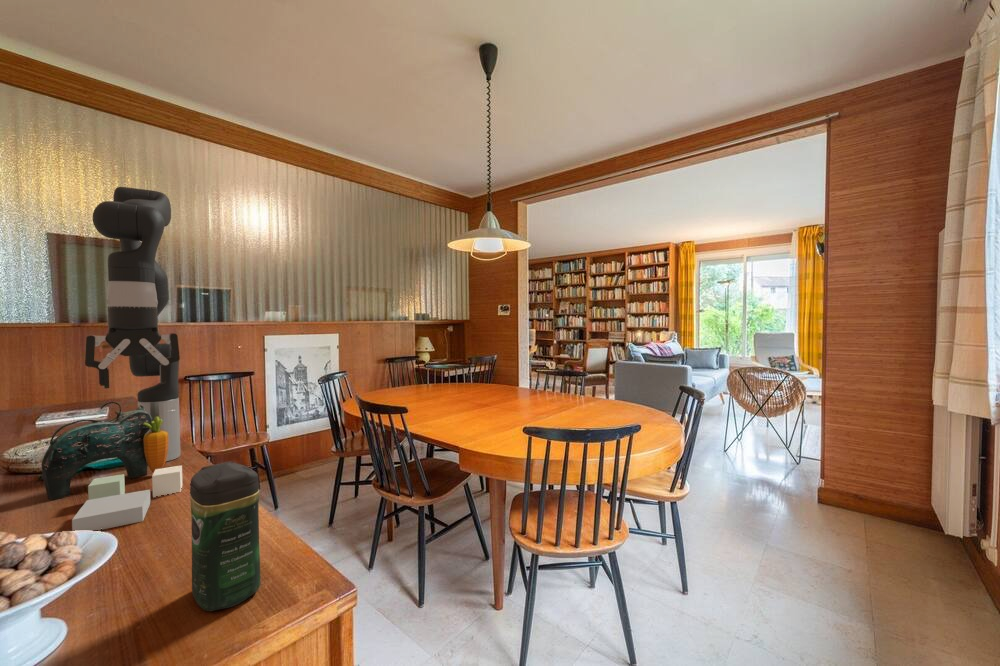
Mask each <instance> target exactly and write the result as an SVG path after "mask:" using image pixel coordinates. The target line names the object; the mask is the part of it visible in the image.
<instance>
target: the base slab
mask: <svg viewBox="0 0 1000 666" xmlns="http://www.w3.org/2000/svg"><path fill="white" fill-rule="evenodd" d="M150 505H151V489H146V490H139V491H133V492H127V493H126V492H125V494H120V495H115V496H109V497H103V498H97V499H91V500H89V499H87V500H86V501H85V502H84V503H83V505H82V506H81V507H80V508H79V510H78V511H77V513H76V514H75V515H74V516H73V518H72V519H71V527H72V528H71V529H72V531H75V530H98V531H102V530H103V531H104V530H107V529H111V528H112V529H113V528H115V527H116V528H118V527H121V526H126V525H130V524H132V525H133V524H137V523H141V522H144V519H145V517H146V515H147V512H148V509H149V508H150ZM101 528H102V530H101Z"/></svg>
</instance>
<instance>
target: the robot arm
mask: <svg viewBox="0 0 1000 666" xmlns="http://www.w3.org/2000/svg"><path fill="white" fill-rule="evenodd" d="M171 221H172V207H171V201H170V199H169V197H168V196H167V195H166V194H165V193H163V192H161V191H158V190H151V189H150V190H149V189H142V188H136V187H135V188H134V187H127V186H118V187H116V188H115V189H114V193H113V201H112V200H105V201H101V202H100V203H99V204H97V206H95V208H94V210H93V212H92V224H93V226H94V228H95V229H96V231H98V233H99V234H100V235H102V236H103V237H105V238H108V239H112V240H119V244H120V251H115V252H111V253H109V254H108V257H107V273H108V275H107V276H108V284H107V289H106V290H107V294H106V296H107V298H106V305H107V330H108V331H107V333H106V335H93V334H89V335H87V336H85V337H86V340H85V355H84V357H85V358H84V359H85V360H84V364H85V367H88V368H95V369H97V370H98V381H99V382H98V384H99V385H100V386H101V387H102V386H103V387H104V389H110V369H109V368H108V367H109V366H110V364H111V363H113V362H114V360H116V359H117V358H118V357H119V355H120V356H123V357H128V360H129V361H128V362H129V363H128V364H129V369H130V372H131V374H132V375H133V376H134V377H139V378H140V377H142V378H143V377H159V382H158V383H157V384H155V385H152V386H149V387H146V388H143V389H140V390H139V391H138V392H137V408H138V407H139V405H142V406H143V407H144V409H145V411H146V412H147V413H149V414H150V415H151V418H152V421H154V422H155V419H154V417H159V419H162V420H163V421H162V424H161V426H160V430H159V431H166V432H167V433H168V453H167V458H166V462H170V461H173V460H175V459H177V458H180V457H181V425H180V423H181V422H180V421H181V420H180V392H179V391H180V390H179V388H180V387H179V376H180V374H179V371H180V370H179V369H180V359H181V358H180V357H181V356H180V348H179V347H180V346H179V338H178V334H176V333H175V332H170V333H167V334H160V332H159V325H158V323H159V321H158V317H159V315H160V314H161V313H162V311H163V310H164V309H165V308H166V307H167V304H168V302H169V300H170V295H169V294H170V293H169V291H170V290H169V281H168V280H169V279H168V275H167V274H166V272H165V270H164V269H163V268H162V266H161V265H160V264H159V263H158V262H157V260H156V256H157V251H158V249H159V245H160V242H161V239H162V237H163V233H164V230H165V227H167V226H169V224H170V223H171ZM162 340H163V341H164V342H163V343H160V342H161V341H162ZM103 342H106V343H107V344H108V346H110V347H111V348H112V350H110V351H109V352H108V353H107V354H106V356H104V358H103V359H102V360H101V361H100V360H95V354H96V353H95V351H96V350H95V349H96V347H100V346H101V344H102V343H103ZM149 432H152V431H151V429H149V431H148V432H147V433H146V434H148V433H149ZM146 434H145V435H146ZM145 435H144V436H145Z"/></svg>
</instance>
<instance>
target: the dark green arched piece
mask: <svg viewBox="0 0 1000 666" xmlns="http://www.w3.org/2000/svg"><path fill="white" fill-rule="evenodd" d="M109 404H114V405H117V406H118V407H119V411H118V410H117V411H116V410H115V411H114V413H115V414H116V416H115V417H113V418H111V419H108V420H95V419H79V420H75V421H72V422H68V423H66V424H64V425H61V426H60V427H59V428H58V429H56V430H55V431H54V432H53V434H52V436H51V438H50V440H49V446H48V447H47V450H46V452H44V455H43V458H42V461H41V476H42V479H43V484H44V487H45V492H46V497H47V499H49V500H51V501H55V500H59V499H63V498H67V497H70V496H71V483H72V478H73V477H74V476H75V474H76V473H77V472H78V471H79V470H80V469H82V468H84V467H85V466H87V465H89V464H91V463H94V462H97V461H102V460H108V459H114V458H117V459H118V460H120V461H121V462H122V464H123V465H124V468H125V470H126V474H127V478H129V479H131V478H132V480H134V478H135V479H137V478H139V477H144V476H147V475H148V464H147V461H146V457H145V452H144V440H143V439H144V435H145V434H146V433H147V432H148V431H149V429H150V428H149V427H147V426H145V425H143V424H144V423H148V424H150V425H151V426H152V423H151V422H152V418H151V415H150V414H149V413H147V412H146V411H145V409H144V407H143V406H142V405H139V407H138V406H137V408H136V409H133V410H129V411H125V412H124V411H123V412H122V407H121V405H120V403H119V402H116V401H107V402H104V403H103V404H102V405H101V406H100V409H101V410H102V409H103V408H105V406H107V405H109ZM83 422H89V423H86V424H82V425H79V426H75V427H72V428H69V429H67V430H66V431H64V432H63V433H61V434H59V435H58V436H57V437H55V436H56V435H57V433H59V432H60V431H61V430H63V429H64V428H66V427H68V426H71V425H74V424H77V423H83Z"/></svg>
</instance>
